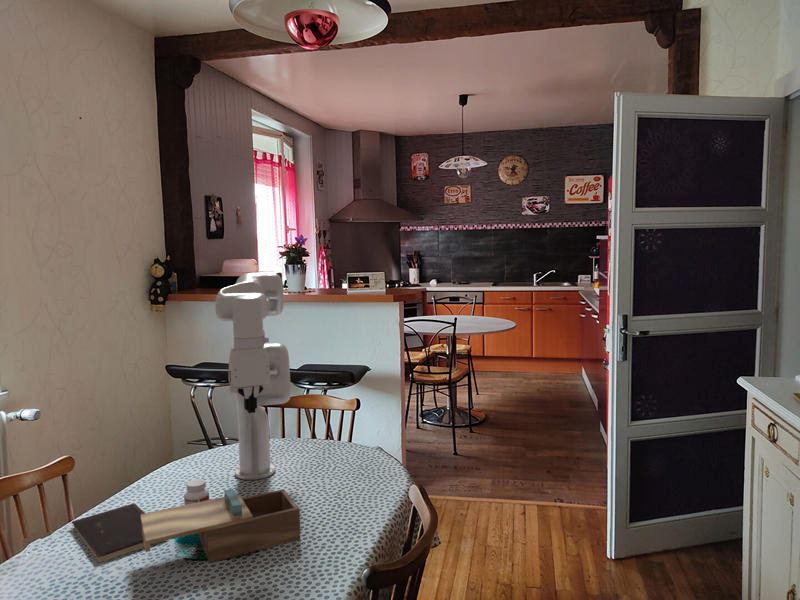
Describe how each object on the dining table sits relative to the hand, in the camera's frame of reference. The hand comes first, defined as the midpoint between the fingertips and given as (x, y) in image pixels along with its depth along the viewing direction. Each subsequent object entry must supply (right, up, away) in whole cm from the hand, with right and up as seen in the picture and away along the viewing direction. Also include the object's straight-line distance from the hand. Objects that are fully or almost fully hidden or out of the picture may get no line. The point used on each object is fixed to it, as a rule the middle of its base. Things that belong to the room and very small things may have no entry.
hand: (250, 411), depth 152 cm
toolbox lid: (-9, -26, -15) cm, 31 cm away
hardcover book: (-32, -31, -5) cm, 45 cm away
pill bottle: (-14, -30, 0) cm, 33 cm away
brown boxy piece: (+2, -30, -9) cm, 31 cm away
